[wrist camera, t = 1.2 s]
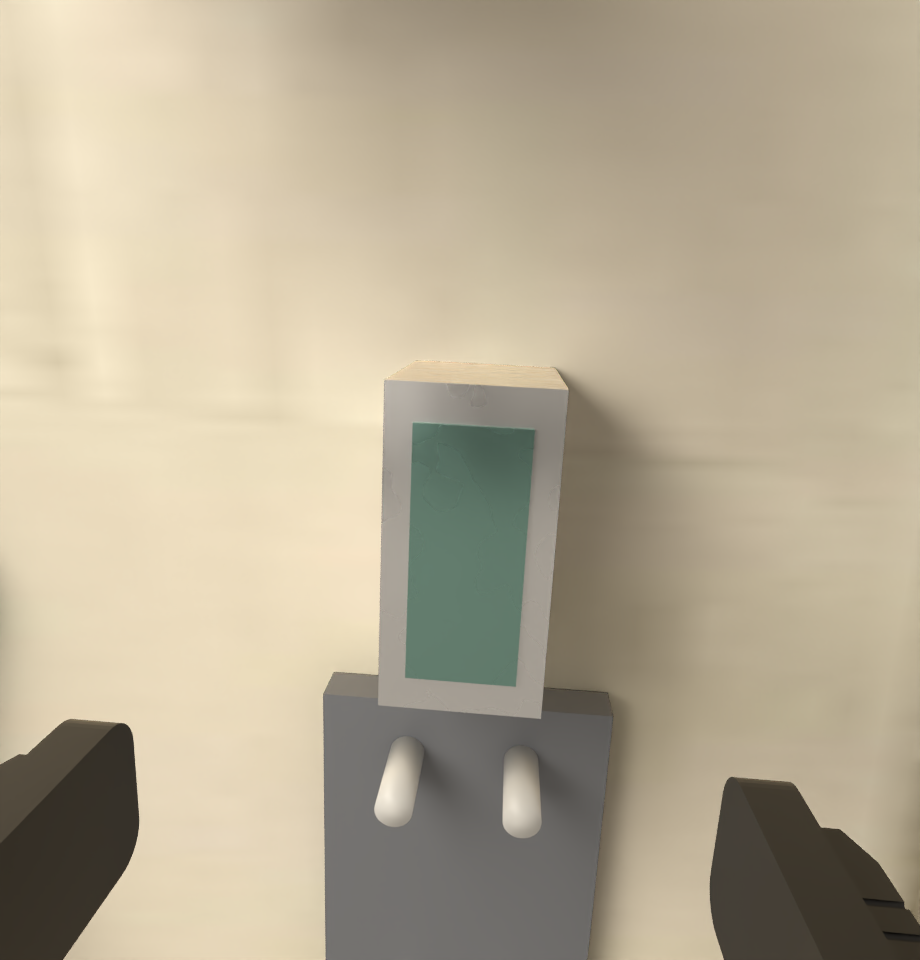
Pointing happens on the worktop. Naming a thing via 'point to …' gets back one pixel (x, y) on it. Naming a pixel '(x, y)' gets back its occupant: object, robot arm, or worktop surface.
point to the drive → (469, 535)
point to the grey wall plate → (461, 827)
